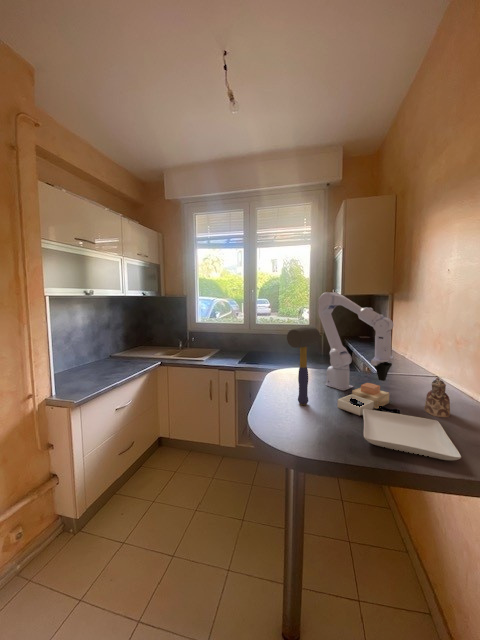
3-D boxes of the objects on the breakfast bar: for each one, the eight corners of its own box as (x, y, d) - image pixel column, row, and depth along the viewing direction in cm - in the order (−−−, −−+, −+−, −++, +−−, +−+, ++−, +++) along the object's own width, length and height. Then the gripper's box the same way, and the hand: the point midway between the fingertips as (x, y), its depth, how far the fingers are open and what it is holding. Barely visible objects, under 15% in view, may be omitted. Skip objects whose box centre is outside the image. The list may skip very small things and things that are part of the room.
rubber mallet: (305, 397, 106) (305, 325, 103) (320, 403, 100) (322, 326, 98) (284, 405, 98) (285, 327, 96) (300, 411, 92) (301, 329, 90)
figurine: (423, 413, 90) (425, 380, 89) (425, 406, 95) (426, 375, 95) (449, 419, 85) (451, 384, 85) (449, 412, 91) (451, 378, 90)
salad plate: (437, 429, 80) (438, 418, 79) (462, 470, 60) (463, 457, 60) (362, 417, 89) (362, 407, 88) (363, 449, 69) (363, 437, 69)
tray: (337, 407, 96) (337, 399, 96) (351, 401, 101) (351, 394, 101) (359, 415, 89) (360, 407, 88) (373, 409, 94) (373, 401, 94)
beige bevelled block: (351, 400, 102) (352, 390, 102) (363, 395, 107) (364, 385, 107) (377, 408, 94) (377, 398, 94) (389, 402, 99) (389, 392, 99)
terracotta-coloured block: (360, 391, 101) (361, 385, 101) (367, 388, 104) (367, 382, 104) (373, 394, 97) (373, 388, 97) (380, 392, 100) (380, 385, 100)
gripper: (384, 351, 97) (383, 386, 98) (401, 346, 105) (400, 379, 106) (366, 348, 103) (365, 381, 104) (383, 344, 111) (383, 375, 112)
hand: (382, 380), depth 105 cm, fingers closed
